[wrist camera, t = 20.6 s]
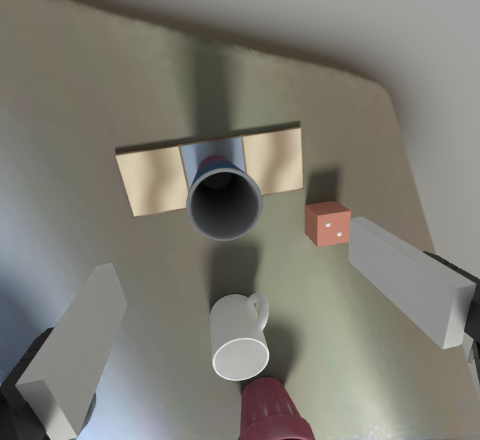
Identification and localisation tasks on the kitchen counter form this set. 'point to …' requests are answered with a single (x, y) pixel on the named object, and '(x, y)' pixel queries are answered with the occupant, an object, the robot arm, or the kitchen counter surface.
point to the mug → (239, 336)
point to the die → (327, 223)
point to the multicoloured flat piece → (192, 154)
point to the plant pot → (271, 413)
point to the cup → (223, 200)
